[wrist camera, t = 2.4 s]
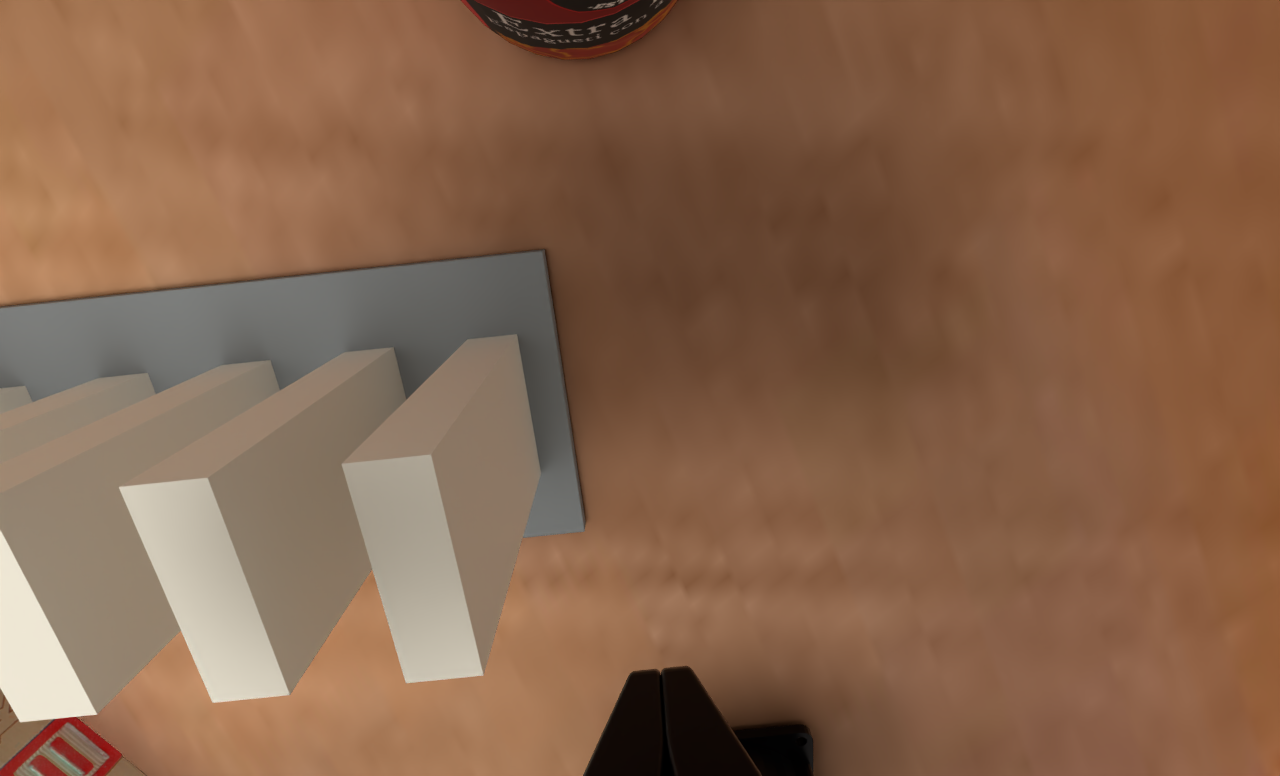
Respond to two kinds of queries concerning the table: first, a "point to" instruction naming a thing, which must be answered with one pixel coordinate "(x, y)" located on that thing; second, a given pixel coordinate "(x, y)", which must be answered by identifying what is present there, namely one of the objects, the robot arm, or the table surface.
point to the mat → (317, 340)
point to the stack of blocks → (56, 748)
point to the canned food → (570, 24)
